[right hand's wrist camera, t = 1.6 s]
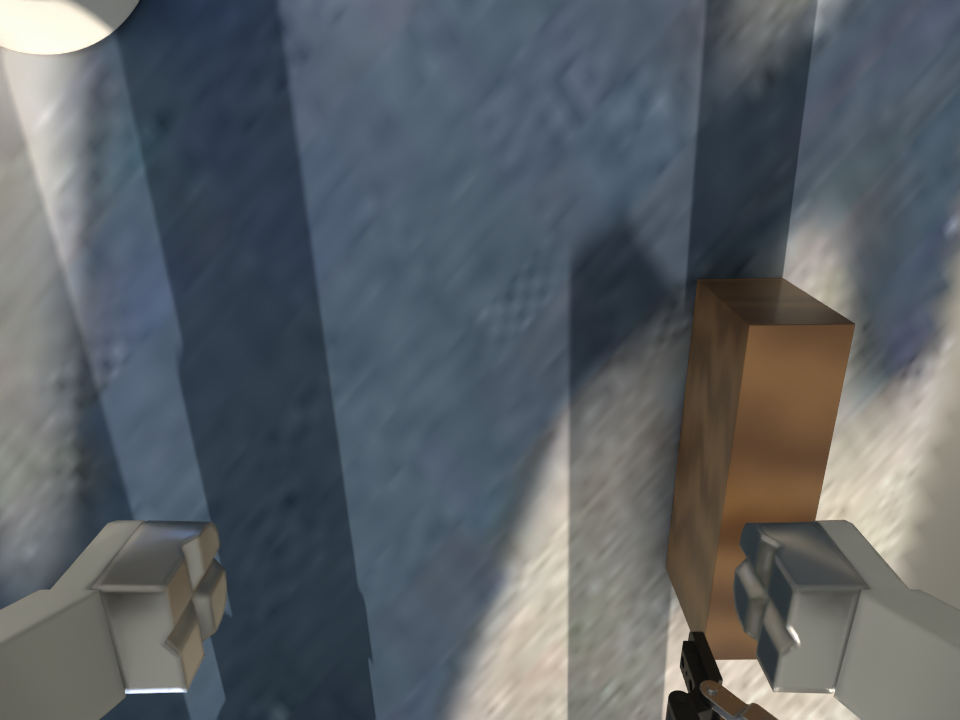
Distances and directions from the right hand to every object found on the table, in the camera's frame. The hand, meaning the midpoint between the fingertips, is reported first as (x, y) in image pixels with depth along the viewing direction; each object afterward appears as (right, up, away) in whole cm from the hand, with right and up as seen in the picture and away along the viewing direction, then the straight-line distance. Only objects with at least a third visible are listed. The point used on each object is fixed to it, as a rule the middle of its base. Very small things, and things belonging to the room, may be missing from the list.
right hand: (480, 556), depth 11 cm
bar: (+16, -2, +36) cm, 40 cm away
